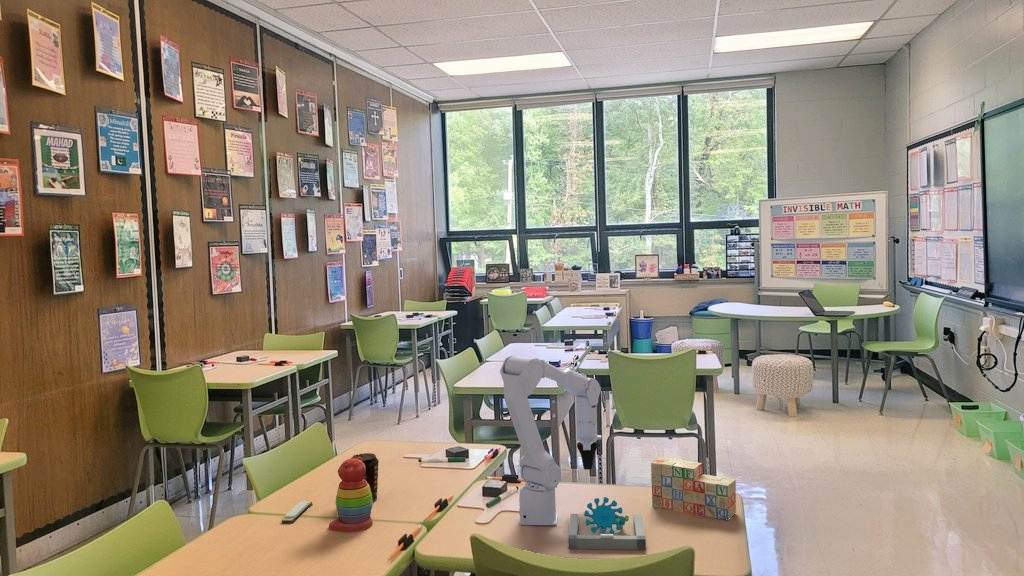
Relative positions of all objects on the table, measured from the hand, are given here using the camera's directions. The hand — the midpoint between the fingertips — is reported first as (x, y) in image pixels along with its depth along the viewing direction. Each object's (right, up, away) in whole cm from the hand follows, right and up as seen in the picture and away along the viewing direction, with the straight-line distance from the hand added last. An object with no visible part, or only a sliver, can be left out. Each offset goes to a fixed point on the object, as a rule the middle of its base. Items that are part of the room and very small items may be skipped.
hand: (587, 468), depth 204 cm
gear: (+3, -11, -21) cm, 23 cm away
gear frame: (+2, -11, -23) cm, 25 cm away
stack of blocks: (+27, -9, -8) cm, 30 cm away
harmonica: (-80, -13, -1) cm, 81 cm away
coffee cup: (-63, -11, +8) cm, 65 cm away
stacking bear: (-62, -12, -11) cm, 65 cm away
